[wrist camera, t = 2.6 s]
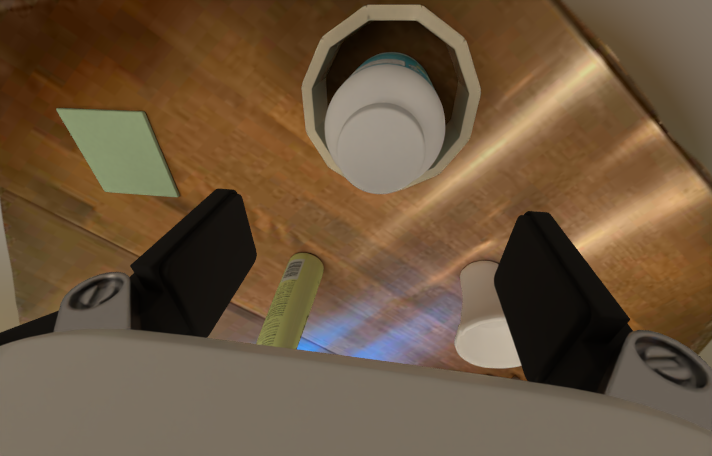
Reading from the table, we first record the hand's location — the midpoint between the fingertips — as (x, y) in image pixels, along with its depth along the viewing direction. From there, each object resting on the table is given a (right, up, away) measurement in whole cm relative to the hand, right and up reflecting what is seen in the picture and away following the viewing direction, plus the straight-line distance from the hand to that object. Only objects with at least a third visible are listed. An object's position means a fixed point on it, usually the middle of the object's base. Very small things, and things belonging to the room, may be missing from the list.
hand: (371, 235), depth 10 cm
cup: (+15, -6, +27) cm, 32 cm away
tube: (-8, -5, +30) cm, 31 cm away
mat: (-27, +9, +23) cm, 37 cm away
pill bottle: (+2, +12, +16) cm, 20 cm away
